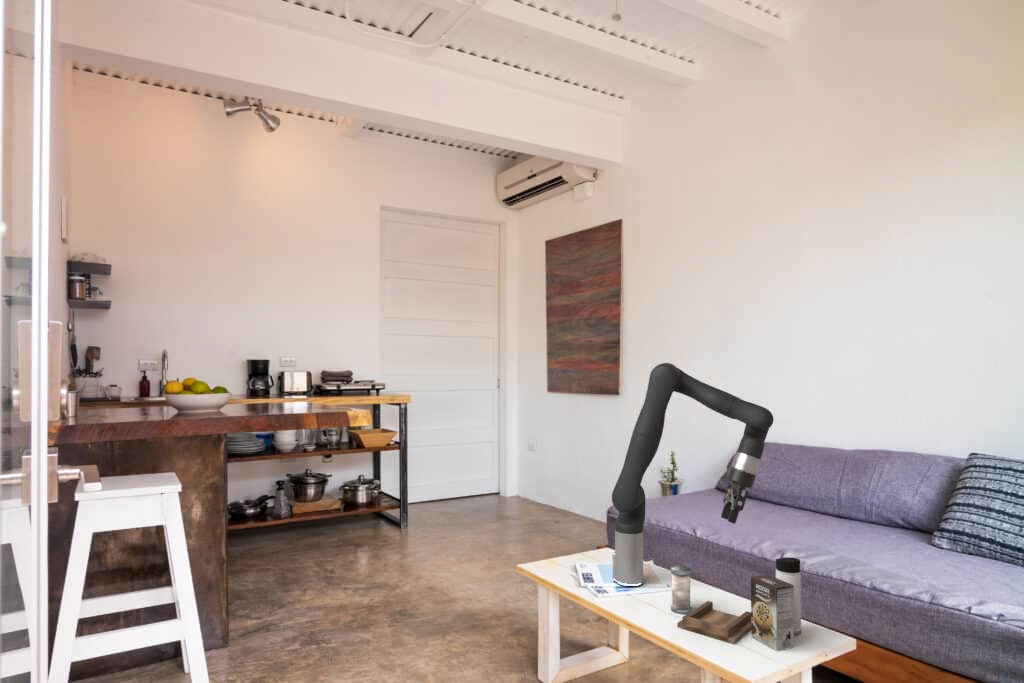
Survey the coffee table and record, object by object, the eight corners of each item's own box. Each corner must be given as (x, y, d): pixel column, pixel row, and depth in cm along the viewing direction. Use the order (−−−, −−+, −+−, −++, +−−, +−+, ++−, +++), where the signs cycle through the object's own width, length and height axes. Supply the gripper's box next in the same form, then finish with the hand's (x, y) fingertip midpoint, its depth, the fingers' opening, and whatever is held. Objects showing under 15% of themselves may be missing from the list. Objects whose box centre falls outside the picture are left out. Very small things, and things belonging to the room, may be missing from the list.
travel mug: (791, 638, 170) (790, 562, 170) (771, 629, 176) (770, 555, 176) (807, 633, 173) (806, 559, 173) (787, 624, 179) (786, 552, 179)
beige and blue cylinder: (667, 610, 189) (666, 569, 189) (676, 604, 193) (676, 564, 194) (685, 615, 185) (685, 574, 185) (695, 609, 189) (695, 569, 190)
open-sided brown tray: (677, 627, 177) (677, 615, 177) (703, 610, 189) (703, 599, 189) (733, 644, 166) (733, 631, 166) (757, 625, 178) (757, 614, 178)
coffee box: (750, 637, 170) (749, 576, 171) (768, 633, 173) (767, 573, 173) (776, 651, 162) (775, 587, 162) (795, 647, 164) (794, 584, 165)
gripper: (726, 464, 204) (710, 513, 202) (738, 467, 190) (721, 519, 188) (749, 472, 203) (733, 521, 201) (763, 476, 189) (746, 528, 187)
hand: (727, 520), depth 195 cm, fingers open, 8 cm apart
